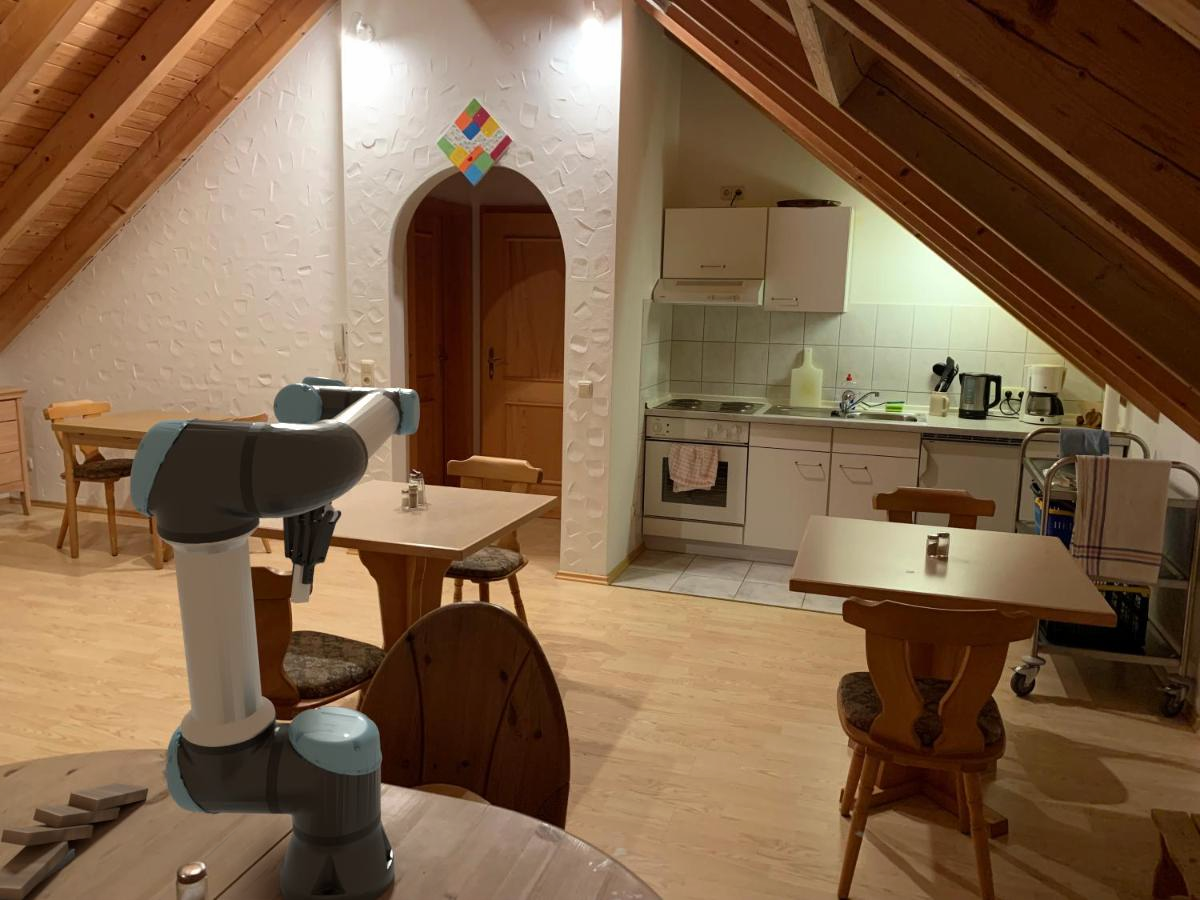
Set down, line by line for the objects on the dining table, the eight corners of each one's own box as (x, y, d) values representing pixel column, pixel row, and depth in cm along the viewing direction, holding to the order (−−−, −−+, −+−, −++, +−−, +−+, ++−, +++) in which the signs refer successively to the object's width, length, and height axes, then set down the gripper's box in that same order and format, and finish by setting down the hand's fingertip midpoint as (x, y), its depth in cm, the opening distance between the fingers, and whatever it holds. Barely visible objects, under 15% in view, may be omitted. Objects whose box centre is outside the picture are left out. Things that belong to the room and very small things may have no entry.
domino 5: (123, 781, 143) (70, 792, 134) (148, 788, 142) (97, 800, 132) (121, 792, 143) (68, 804, 134) (146, 798, 142) (94, 811, 132)
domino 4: (96, 800, 138) (36, 808, 129) (120, 807, 136) (60, 816, 127) (94, 811, 138) (33, 819, 129) (117, 818, 136) (57, 828, 127)
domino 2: (32, 839, 126) (-19, 886, 116) (67, 841, 126) (20, 888, 116) (33, 850, 126) (-17, 897, 117) (68, 852, 126) (21, 899, 116)
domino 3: (46, 842, 128) (-19, 886, 119) (74, 849, 127) (11, 894, 117) (46, 852, 128) (-18, 897, 119) (75, 859, 127) (12, 905, 118)
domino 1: (69, 821, 133) (3, 829, 124) (93, 825, 131) (28, 833, 122) (67, 833, 132) (0, 841, 123) (91, 837, 130) (25, 845, 121)
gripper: (358, 471, 157) (342, 606, 157) (306, 464, 163) (291, 593, 163) (324, 469, 150) (308, 610, 150) (272, 461, 157) (256, 597, 157)
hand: (299, 601), depth 157 cm, fingers closed
